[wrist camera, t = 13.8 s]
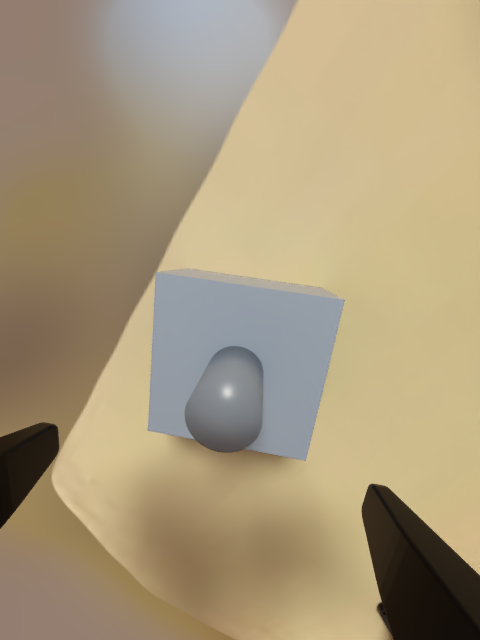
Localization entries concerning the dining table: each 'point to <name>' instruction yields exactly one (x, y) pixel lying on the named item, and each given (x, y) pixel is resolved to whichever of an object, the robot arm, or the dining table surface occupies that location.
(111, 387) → the dining table surface
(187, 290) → the block with rounded knob
